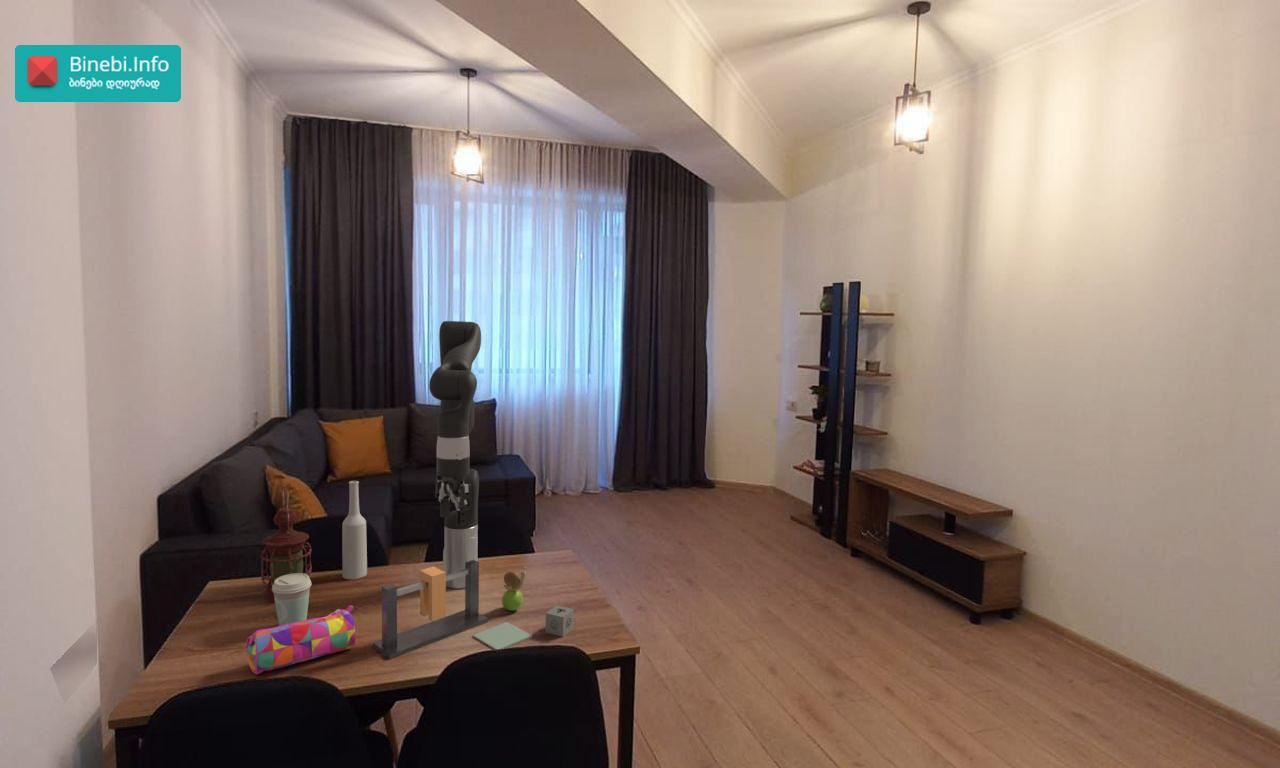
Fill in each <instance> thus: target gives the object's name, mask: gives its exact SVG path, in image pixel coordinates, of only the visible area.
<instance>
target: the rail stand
mask: <svg viewBox="0 0 1280 768" xmlns="http://www.w3.org/2000/svg"><path fill="white" fill-rule="evenodd" d="M462 576H465V588H464V599H465V600H464V601H465V602H464V610H461V611H459V612H454V613H453V614H450V615H446V617H443V618H441V619H438V620H435V621H430V622H427V623H424V624H421V625H418V626H416V627H412V628H410V629H406V630H404V631H401V632H398V597H399V596H403V595H406V594H410V593H413V592H416V591H420V589H423V588H426V587H428V582H426V581H422V582H420V581H419V582H416V583H413V584H409V585H406V586H402V587H400V588H398V587H397V586H396V585H395V584H393V583H390V584H387V585H386V584H385V585H382V586H381V639H379V640H376V641H373V642H372V647H373V648H374V649H376V650H377V651H378V652H380V653H381V654H383V655H384V656H385V657H386V658H388V659H389V660H392V659H393V658H396V657H399V656H402V655H404V654H407V653H409V652H412V651H415V650H418V649H420V648H423V647H425V646H428V645H431V644H433V643H436V642H439V641H441V640H445V639H448V638H449V637H452V636H454V635H457V634H459V633H463V632H465V631H467V630H470V629H474V628H475V627H478V626H480V625H484V624H486V623H488V622H489V621H488V620H489V619H488V617H486V616H485V615H482V614H480V613H479V611H480V609H479V606H480V605H479V602H480V601H479V599H480V596H479V595H480V594H479V593H480V589H479V588H480V562H479V561H478V560H477V561H475V560H471V561H468V562H465V569H462V570H459V571H456V572H452V573H449V574H446V581H449V580H452V579H455V578H459V577H462Z"/></svg>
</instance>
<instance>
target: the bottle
mask: <svg viewBox="0 0 1280 768" xmlns="http://www.w3.org/2000/svg"><path fill="white" fill-rule="evenodd" d="M359 483H360V481H358V480H351V481H349V482H348V484H349V485H348V486H349V488H348V489H349V493H348V494H349V497H348V498H349V503H348V505H349V506H348V515H347V516H346V517H345V519H344V520H343V522H342V524H341V525H342V527H341V528H342V529H341V530H342V533H341V534H342V536H341V537H342V546H341V547H342V551H341V552H342V553H341V554H342V556H341V557H342V578H343V579H345V580H358V579H362V578H364V577H366V576H367V575H368V556H367V554H368V552H367V548H368V547H367V545H368V544H367V543H368V541H367V520H366V519H365V518H364V517H363V516H362V514H361V513H360V498H359Z"/></svg>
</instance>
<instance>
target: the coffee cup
mask: <svg viewBox="0 0 1280 768" xmlns="http://www.w3.org/2000/svg"><path fill="white" fill-rule="evenodd" d="M311 587H312V581H311V579H310V575H309V576H308V574H302V573H294V574H287V575H284V576H281V577H279V578H277V579H276V580H275V581H274V584H273V586H272V591H273V592H274V598H275V609H276V611H275V612H276V616H277V621H278V623H277V624H278V626H282V625H286V624H291V623H296V622H301V621H305V620H308V618H307V617H308V611H309V609H308V608H309V601H310V600H309V599H310V589H311Z"/></svg>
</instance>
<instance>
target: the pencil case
mask: <svg viewBox="0 0 1280 768" xmlns="http://www.w3.org/2000/svg"><path fill="white" fill-rule="evenodd" d="M354 608H355V607H354V606H353V605H350V604H349V605H348V607H346V609H340V608H338V609H336V610H335V611H334V612H331V613H329V614H328V615H327V616H323V617H317V618H316V617H315V618H310V619H309V618H308V619H307V620H305V621H301V622H296V623H291V624H286V625H282V626H279V625H278V626H274V627H271V628H262V629H257V630H256V631H255V632H253V634H251V635H250V636H248V637H247V640H246V657H247V664H248V666H249V668H250V670H251V672H252V673H253V674H255V675H256V676H257V675H259V674H261V673H264V671H272V670H277V669H283V668H286V667H289V666H292V665H294V664H297V663H302V662H306V661H307V662H308V661H311V660H314V659H317V658H319V657H324V656H326V655H330V654H334V653H339V652H344V651H346V650H349V649H352V648H353V647H354V646H355V644H356V639H357V635H356V626H355V619H354V616H352V614H351V612H352V611H353V610H355V609H354Z"/></svg>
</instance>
